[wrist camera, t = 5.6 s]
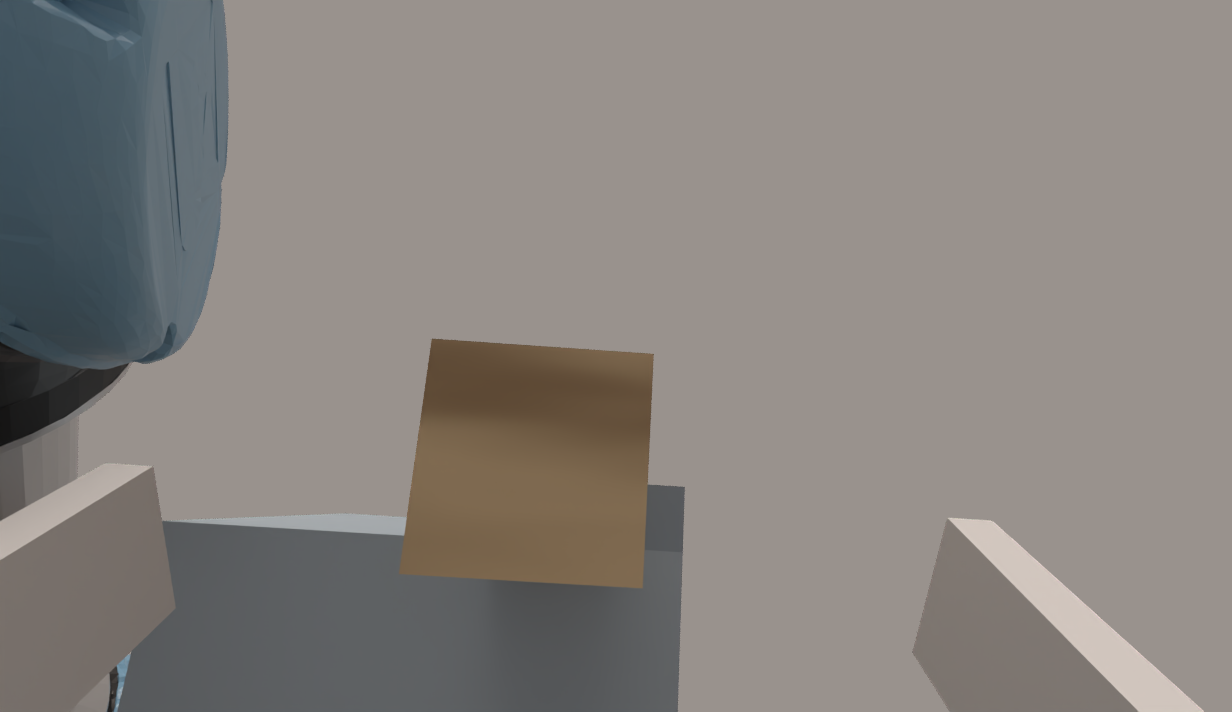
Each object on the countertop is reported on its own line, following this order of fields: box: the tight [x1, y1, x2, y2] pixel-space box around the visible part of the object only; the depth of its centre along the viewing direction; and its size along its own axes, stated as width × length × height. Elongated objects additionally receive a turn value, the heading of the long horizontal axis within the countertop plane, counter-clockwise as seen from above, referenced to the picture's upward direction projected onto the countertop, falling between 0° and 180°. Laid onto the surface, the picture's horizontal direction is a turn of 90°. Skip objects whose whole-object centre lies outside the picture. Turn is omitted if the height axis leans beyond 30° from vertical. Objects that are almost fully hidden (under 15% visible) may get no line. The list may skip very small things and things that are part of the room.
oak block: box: [399, 339, 654, 588], centre depth 21 cm, size 23×4×4 cm, turn 2°
